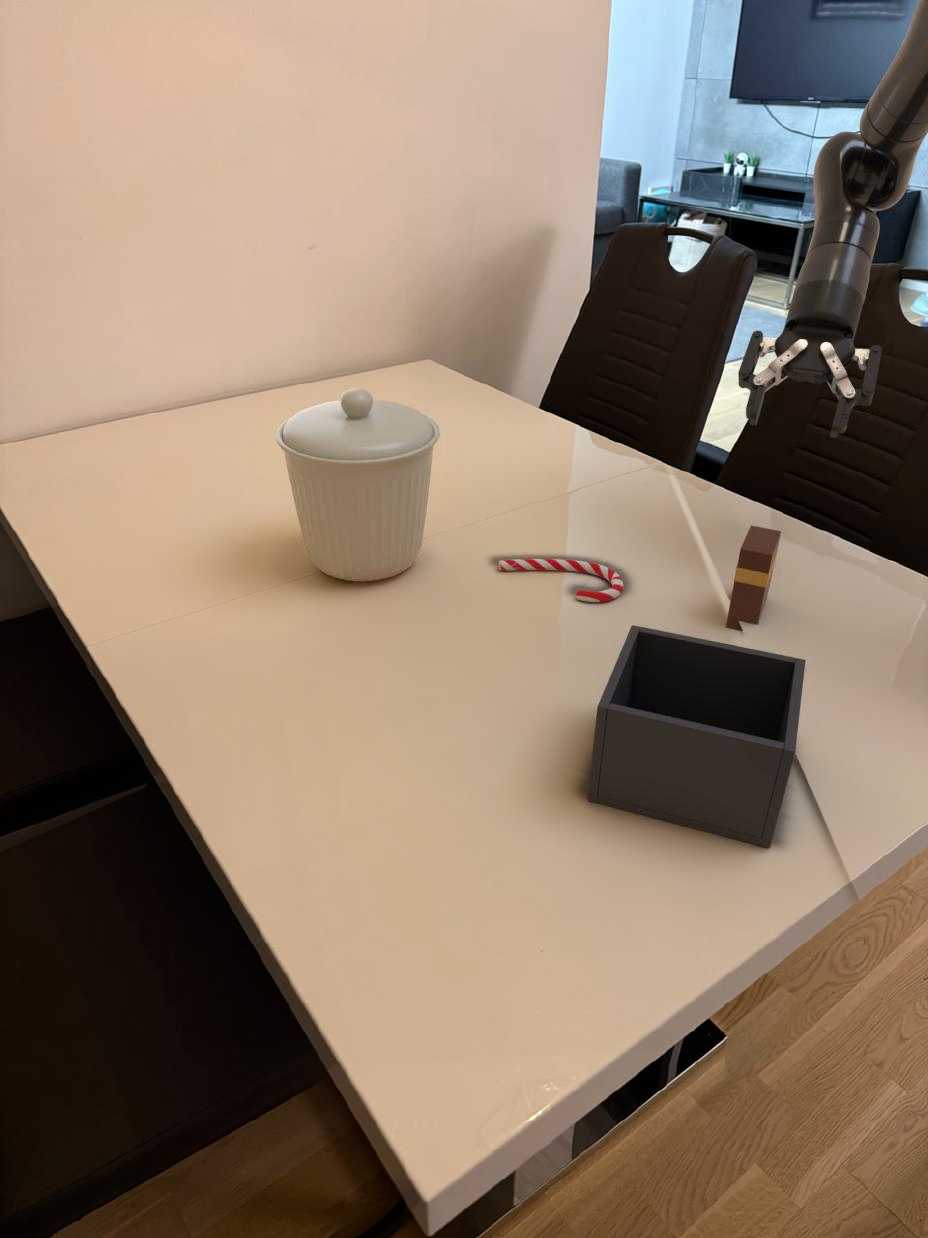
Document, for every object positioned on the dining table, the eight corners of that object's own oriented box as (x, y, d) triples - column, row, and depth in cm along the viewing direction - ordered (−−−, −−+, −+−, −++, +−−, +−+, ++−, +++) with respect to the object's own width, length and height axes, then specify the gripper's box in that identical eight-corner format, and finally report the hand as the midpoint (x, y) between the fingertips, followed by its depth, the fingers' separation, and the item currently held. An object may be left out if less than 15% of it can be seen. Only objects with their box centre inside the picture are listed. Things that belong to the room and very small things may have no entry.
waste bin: (782, 750, 81) (805, 659, 76) (769, 848, 71) (795, 751, 66) (620, 713, 85) (631, 624, 80) (586, 800, 75) (597, 706, 70)
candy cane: (505, 547, 111) (629, 566, 107) (504, 557, 111) (628, 575, 108) (487, 577, 104) (618, 598, 101) (487, 587, 105) (617, 608, 101)
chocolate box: (765, 607, 102) (782, 530, 97) (756, 634, 97) (773, 555, 92) (735, 600, 103) (750, 524, 98) (724, 627, 98) (739, 548, 93)
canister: (442, 598, 103) (442, 417, 92) (280, 601, 102) (260, 418, 91) (437, 526, 118) (437, 364, 107) (296, 528, 117) (281, 365, 106)
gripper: (763, 270, 101) (726, 401, 99) (901, 284, 96) (866, 422, 94) (762, 309, 108) (727, 433, 106) (891, 323, 103) (858, 454, 101)
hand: (792, 428), depth 100 cm, fingers open, 8 cm apart
